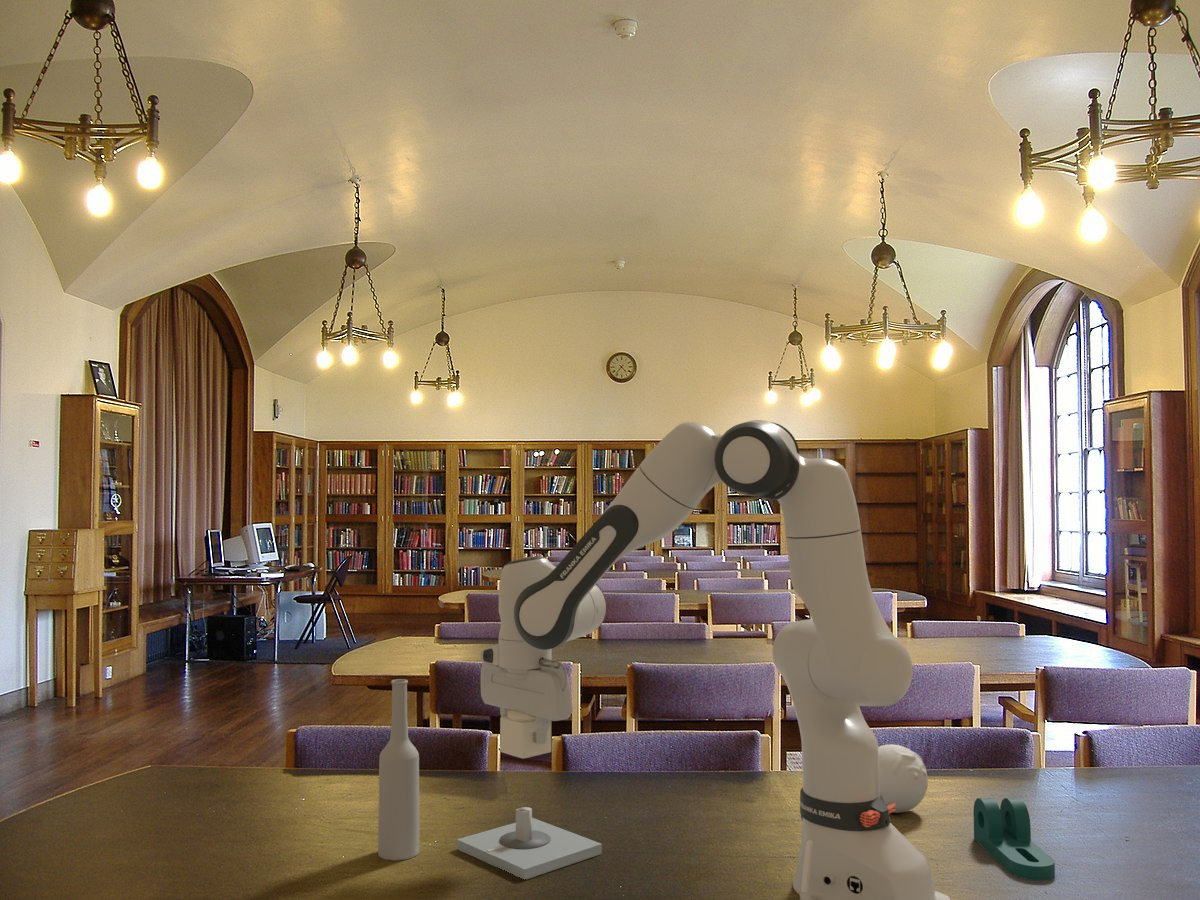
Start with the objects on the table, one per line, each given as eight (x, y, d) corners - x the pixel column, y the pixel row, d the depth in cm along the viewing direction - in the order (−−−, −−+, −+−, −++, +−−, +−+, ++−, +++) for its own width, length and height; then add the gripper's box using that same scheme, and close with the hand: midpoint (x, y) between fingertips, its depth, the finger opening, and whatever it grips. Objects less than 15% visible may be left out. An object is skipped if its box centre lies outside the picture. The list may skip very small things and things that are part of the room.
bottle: (370, 853, 162) (371, 680, 163) (404, 843, 167) (405, 675, 168) (392, 864, 157) (393, 685, 159) (427, 853, 162) (427, 680, 163)
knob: (522, 758, 160) (522, 714, 160) (500, 751, 164) (500, 708, 165) (551, 752, 164) (551, 708, 164) (528, 745, 168) (528, 703, 169)
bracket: (974, 840, 168) (973, 792, 168) (1014, 839, 168) (1013, 792, 168) (1018, 881, 150) (1016, 828, 150) (1062, 881, 150) (1061, 828, 150)
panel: (601, 853, 161) (601, 812, 162) (524, 880, 151) (524, 835, 151) (532, 826, 175) (532, 788, 175) (456, 849, 164) (457, 808, 164)
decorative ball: (903, 826, 174) (902, 757, 175) (847, 809, 183) (846, 744, 184) (941, 812, 182) (940, 746, 182) (885, 797, 191) (884, 734, 192)
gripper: (581, 660, 159) (581, 747, 159) (503, 646, 174) (503, 725, 174) (550, 664, 155) (551, 754, 154) (474, 650, 170) (474, 731, 169)
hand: (525, 739), depth 164 cm, fingers closed on knob, 6 cm apart
